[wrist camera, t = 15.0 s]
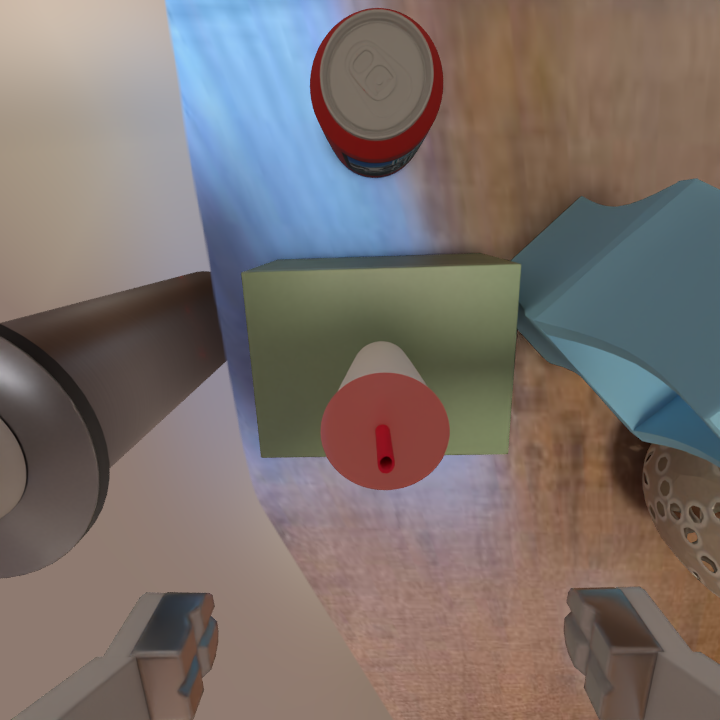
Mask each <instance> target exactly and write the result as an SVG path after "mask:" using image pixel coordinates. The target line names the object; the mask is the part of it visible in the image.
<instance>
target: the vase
mask: <svg viewBox="0 0 720 720" xmlns="http://www.w3.org/2000/svg"><path fill="white" fill-rule="evenodd" d="M511 261H512V262H516V263H520V264H521V278H520V292H519V306H518V320H517V329H518V330H519V332H520V333H521V334H522V335H523V336H524V337H525V338H526V339H527V340H528V341H529V342H530V344H531V345H532V346H533V347H534V348H535V349H536V350H537V351H538V352H539V353H540V354H541V356H542V357H543V358H544V359H545V360H547V361H548V362H549V363H552V364H555V365H558V366H562V367H564V368H567V369H569V370H571V371H573V372H575V373H577V374H578V375H580V376H581V377H582V378H583V379H584V380H585V381H586V383H587V384H588V385H589V386H590V387H591V388H592V389H593V390H594V391H595V393H596V394H597V395H598V396H599V397H600V398H601V399H602V401H603V402H604V403H605V404H606V405H607V406H608V407H609V409H610V410H611V411H612V412H613V413H614V414H615V415H616V416H617V417H618V419H619V420H620V421H621V422H622V423H623V424H624V425H625V426H626V427H627V428H628V430H629V431H630V432H632V433H633V434H634V435H635V436H636V437H638V438H639V439H640V440H641V441H644V442H649V443H654V444H659V445H664V446H668V447H672V448H675V449H679V450H682V451H685V452H688V453H690V454H693V455H695V456H698V457H700V458H703V459H705V460H707V461H709V462H711V463H713V464H714V465H716V466H718V467H719V468H720V190H719V189H717V188H715V187H713V186H711V185H709V184H707V183H705V182H703V181H700V180H698V179H690V180H683V181H679V182H677V183H676V184H674V185H672V186H670V187H668V188H666V189H664V190H662V191H660V192H658V193H656V194H654V195H651V196H649V197H647V198H645V199H643V200H640V201H637V202H634V203H631V204H628V205H623V206H618V207H611V206H604V205H600V204H597V203H594V202H592V201H590V200H588V199H586V198H585V197H583V196H581V197H580V198H578V199H577V200H576V201H575V202H574V203H573V204H572V205H571V206H570V207H569V208H568V209H566V210H565V211H564V212H563V213H562V214H561V215H560V216H559V217H558V218H557V219H556V220H554V221H553V222H552V223H551V224H550V225H549V226H548V227H547V228H546V229H545V230H544V231H543V232H541V233H540V234H539V235H538V236H537V237H536V238H535V239H534V240H533V241H532V242H531V243H529V244H528V245H527V246H526V247H525V248H524V249H523V250H522V251H521V252H520V253H519V254H517V255H516V256H515V257H514V258H513V259H512V260H511Z"/></svg>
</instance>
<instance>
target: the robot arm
mask: <svg viewBox="0 0 720 720" xmlns="http://www.w3.org/2000/svg"><path fill="white" fill-rule="evenodd" d="M25 485H26V465H25V460H24V456H23V453H22V450H21V448H20V446H19V444H18V442H17V440H16V438H15V436H14V435H13V433H12V432H11V430H10V429H9V428H8V426H7V425H6V424H5V423H4V422H3V421H2V420H1V418H0V519H1V518H2V517H3V516H5V515H6V514H8V513H9V512H10V511H11V510H12V509H13V508H14V507H15V506H16V505H17V504H18V502H19V501H20V499H21V497H22V495H23V492H24V489H25ZM567 604H568V606H569V608H570V610H571V612H570V613H569V614H568V615H567V616H566V617H565V620H564V636H565V643H566V647H567V650H568V653H569V656H570V658H571V661H572V663H573V665H574V667H575V668H576V669H578V670H579V671H580V672H581V673H582V674H584V675H585V676H586V677H585V684H584V689H585V691H586V693H587V695H588V697H589V699H590V701H591V703H592V705H593V707H594V710H595V712H596V714H597V716H598V718H599V720H720V664H718V663H716V662H715V661H713V660H712V659H710V658H709V657H707V656H705V655H704V654H702V653H701V652H692V650H691V649H690V648H689V647H688V645H687V644H686V643H685V641H684V640H683V639H682V638H681V636H680V635H679V634H678V632H677V631H676V630H675V628H674V627H673V626H672V625H671V623H670V622H669V621H668V619H667V618H666V617H665V616H664V614H663V613H662V612H661V610H660V609H659V608H658V606H657V605H656V604H655V603H654V601H653V600H652V599H651V597H650V596H649V595H648V594H647V592H646V591H645V590H644V589H642V588H641V587H616V588H614V587H607V588H571V589H570V591H569V592H568V596H567ZM214 607H215V606H214V600H213V595H212V594H210V593H175V592H174V593H173V592H170V593H169V592H168V593H145V594H144V595H142V596H141V597H140V598H139V600H138V601H137V603H136V605H135V606H134V608H133V609H132V611H131V613H130V614H129V616H128V617H127V619H126V620H125V622H124V624H123V626H122V627H121V629H120V630H119V632H118V634H117V635H116V637H115V638H114V640H113V642H112V643H111V645H110V646H109V648H108V650H107V651H106V653H105V654H104V656H103V657H96V658H94V659H93V660H91V661H90V662H89V663H87V664H86V665H85V666H83V667H82V668H80V669H79V670H78V671H76V672H75V673H74V674H72V675H71V676H70V677H68V678H67V679H66V680H64V681H63V682H62V683H60V684H59V685H58V686H56V687H55V688H53V689H52V690H51V691H49V692H48V693H46V694H45V695H44V696H42V697H41V698H40V699H38V700H37V701H36V702H34V703H33V704H32V705H30V706H29V707H27V708H26V709H25V710H24V711H22V712H21V713H19V714H18V715H17V716H15V717H14V718H12V719H11V720H193V719H194V716H195V713H196V711H197V707H198V705H199V702H200V699H201V697H202V694H203V691H204V688H203V681H202V678H203V677H204V676H205V675H206V674H207V673H208V672H209V671H210V670H211V668H212V666H213V663H214V660H215V657H216V651H217V646H218V625H217V621H216V620H215V619H214V618H213V617H212V616H211V614H212V611H213V609H214Z"/></svg>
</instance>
